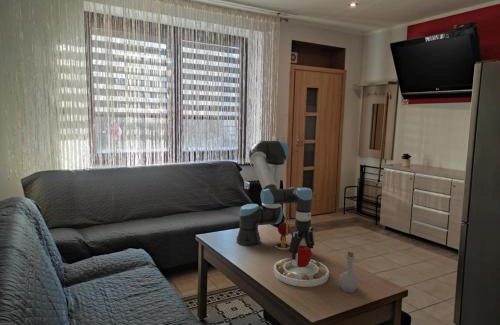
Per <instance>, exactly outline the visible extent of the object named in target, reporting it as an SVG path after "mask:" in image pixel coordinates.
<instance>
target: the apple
mask: <svg viewBox="0 0 500 325" xmlns="http://www.w3.org/2000/svg"><path fill="white" fill-rule="evenodd" d="M297 253H298V262H297V266H299V267H306V266H307V265H308V264H309V262H310V259H311V260H312V257H313V256H312V255H313V252H312V248H311V249H310V248H309V247H307V246H304V245H299V248H298V251H297Z"/></svg>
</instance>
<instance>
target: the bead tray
mask: <svg viewBox="0 0 500 325" xmlns="http://www.w3.org/2000/svg"><path fill="white" fill-rule="evenodd" d="M273 275H274V276H275V278H276V279H277V280H278V281H279V282H282V283H284V284H286V285H289V286H294V287H300V288H301V287H302V288H312V287H313V288H314V287H318V286H322V285H324V284H325V283H326V282H327V281H328V279H329V276H330V271H329V268H328V267H327V266H326V264H323V262H320V261H318V260H314V259H312V258H311V259H310V262H309V264H308V265H307V266H306V267H299V266H297V267H296V266H294V265H292V257H288V258H283V259H279V260H278V261H277V260H276V262H275V264H274V265H273Z"/></svg>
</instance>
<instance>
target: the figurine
mask: <svg viewBox="0 0 500 325" xmlns="http://www.w3.org/2000/svg"><path fill="white" fill-rule="evenodd" d="M277 231H278V234H279V235H280V239H279V240H280V242H279V243H277V244H275V246H274V247H275V248H276V249H277V250H284V251H285V250H288V251H289V249H290V245H289V244H288V243H286V241H287V237H286V236H288V235H289V234H290V225H289V223H287V222H280V223H279V225H278V226H277Z"/></svg>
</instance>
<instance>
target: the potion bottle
mask: <svg viewBox="0 0 500 325" xmlns="http://www.w3.org/2000/svg"><path fill="white" fill-rule="evenodd" d="M345 258H346V261H347V264H346V265H347V266H346V271H344V272H341V274H340V275H339V278H338V283H339V287H340V289H341V291H344V292H347V293H355V292H356V290H357V288H358V286H359V278H358V276H357V274H355V273H354V272H353V261H354V260H355V255H354V252H352V251H347V254H346V255H345Z"/></svg>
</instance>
